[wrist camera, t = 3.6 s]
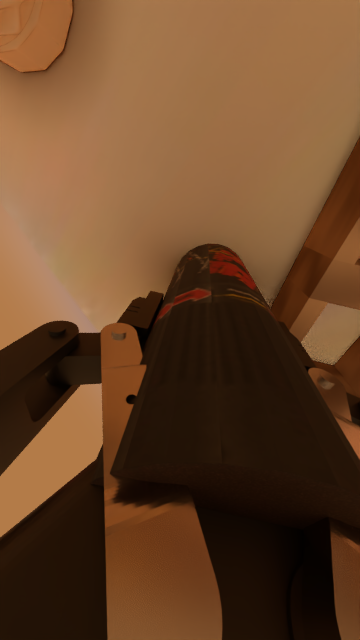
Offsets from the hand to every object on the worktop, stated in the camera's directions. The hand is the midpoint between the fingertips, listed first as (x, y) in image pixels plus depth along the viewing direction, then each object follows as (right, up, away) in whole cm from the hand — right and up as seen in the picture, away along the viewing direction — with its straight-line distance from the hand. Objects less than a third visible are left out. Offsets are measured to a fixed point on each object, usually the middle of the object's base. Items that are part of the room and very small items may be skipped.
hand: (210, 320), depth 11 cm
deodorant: (+1, +4, +6) cm, 7 cm away
